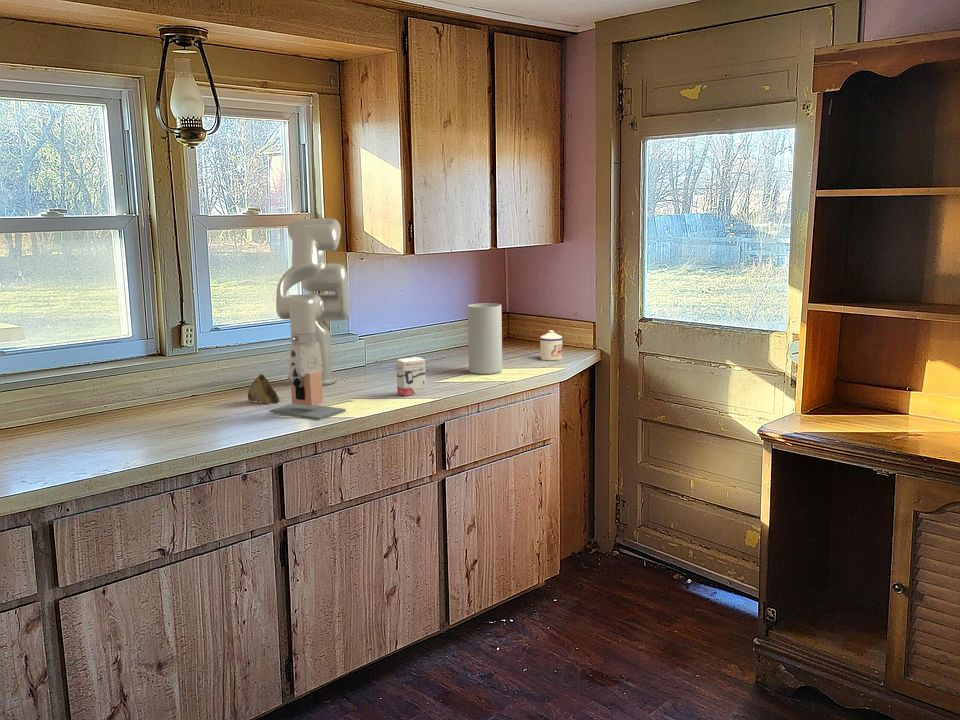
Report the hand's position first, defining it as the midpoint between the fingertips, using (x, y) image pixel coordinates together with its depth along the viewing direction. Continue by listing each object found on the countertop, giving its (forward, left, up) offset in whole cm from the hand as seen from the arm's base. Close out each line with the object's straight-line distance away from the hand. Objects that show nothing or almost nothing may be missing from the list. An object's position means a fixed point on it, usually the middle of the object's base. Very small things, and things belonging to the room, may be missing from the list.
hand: (307, 396), depth 264 cm
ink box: (+13, +36, -5) cm, 39 cm away
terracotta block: (0, 0, -2) cm, 2 cm away
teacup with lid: (+25, +116, -5) cm, 119 cm away
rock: (-23, +4, -5) cm, 24 cm away
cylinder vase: (+15, +80, -5) cm, 82 cm away
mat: (0, 0, -5) cm, 5 cm away
